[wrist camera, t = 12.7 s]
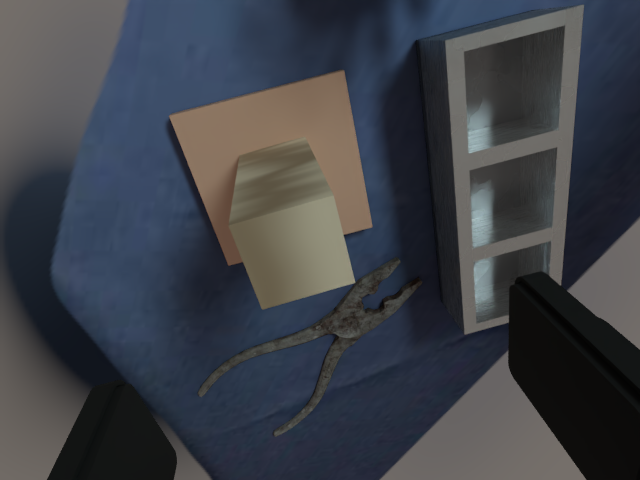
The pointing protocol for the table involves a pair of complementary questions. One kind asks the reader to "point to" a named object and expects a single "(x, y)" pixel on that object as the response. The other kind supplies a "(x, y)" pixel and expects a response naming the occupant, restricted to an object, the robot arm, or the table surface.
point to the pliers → (342, 321)
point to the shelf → (499, 154)
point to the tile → (270, 129)
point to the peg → (287, 225)
